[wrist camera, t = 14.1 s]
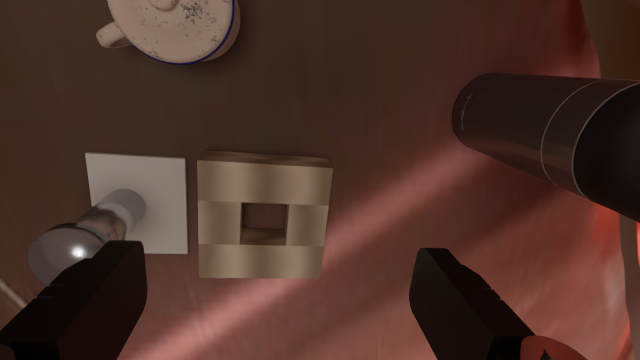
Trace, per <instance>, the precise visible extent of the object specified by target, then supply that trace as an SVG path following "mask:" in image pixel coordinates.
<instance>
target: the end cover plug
mask: <svg viewBox="0 0 640 360" xmlns="http://www.w3.org/2000/svg"><path fill="white" fill-rule="evenodd" d="M146 210H147V207H146V203H145V201H144V199H143V198H142V196H141V195H139V194H138V193H137V192H135V191H133V190H130V189H116V190H114V191H112V192H110V193H109V194H108V195H107V196H106V197H104V198H103V199H102V200H101V201H99V202H98V203H97V204H96V205H95V206H93V207H92V208H91V209H90V210H88V211H87V212H86V213H85V214H84V215H82V216H81V217H80V218H79V219H78V220H76V221H75V222H74V223H65V224H60V225H57V226H55V227H53V228H51V229H49V230H48V231H46V232H45V233H44V234H43V235H41V236H40V237H39V238H37V239H36V240H35V241H34V242H33V244H32V245H31V247H30V250H29V254H28V261H29V265H30V268H31V270H32V272H33V273H34V275H35V276H36V277H37V278H38V279H39V280H40V281H41V282H42V283H44V284H45V285H47V286H49V285H50V283H51V282H52V281H53V280H54V279H55V278H56V277H57V276H58V275H59V274H60V273H61V272H62V271H63V270H64V269H66V268H68V267H70V266H71V265H73V264H75V263H77V262H79V261H81V260H82V259H84V258H92V257H93V256H94V255H95V254H96V253H97V252H98V251H99V250H100V249H101V248H102V247H103V246H104V244H105V243H106V242H108V241H109V240H126V238H127V237H128V236H129V235H130V234H131V232H132V231H133V230H134V229H135V227H136V226H137V225H138V224H139V222H140V221H141V220H142V219H143V217H144V216H145V214H146Z"/></svg>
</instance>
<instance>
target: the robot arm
mask: <svg viewBox="0 0 640 360" xmlns="http://www.w3.org/2000/svg"><path fill="white" fill-rule="evenodd" d="M453 127H454V130H455V133H456V135H457V137H458V138H459V140H460V141H461V142H462V143H463V144H465V145H466V146H468V147H470V148H472V149H474V150H477V151H479V152H481V153H483V154H486V155H488V156H490V157H492V158H495V159H497V160H499V161H501V162H504V163H506V164H508V165H511V166H513V167H515V168H517V169H520V170H522V171H524V172H527V173H529V174H531V175H533V176H536V177H538V178H540V179H543V180H545V181H547V182H549V183H552V184H554V185H556V186H559V187H561V188H563V189H566V190H568V191H571V192H573V193H575V194H577V195H580V196H582V197H584V198H586V199H589V200H591V201H593V202H595V203H597V204H600V205H602V206H605V207H607V208H609V209H611V210H614V211H616V212H618V213H620V214H622V215H624V216H626V217H628V218H631V219H633V220H635V221H637V222H640V81H638V80H620V79H598V78H580V77H562V76H544V75H526V74H511V73H489V74H485V75H482V76H480V77H478V78H476V79H475V80H473V81H472V82H471V83H470V84H468V85H467V86H466V87H465V89H464V90H463V91H462V92H461V94H460V96H459V97H458V99H457V101H456V104H455V107H454V111H453ZM146 299H147V278H146V267H145V255H144V247H143V244H142V242H141V241H134V240H109V241H108V242H106V243H105V244H104V246H103V247H102V248H101V249H100V250H99V251H98V252H97V253H96V254H95V255H94V256H93V257H92V258H84V259H82V260H81V261H79V262H77V263H75V264H73V265H71V266H70V267H68V268H66V269H64V270H63V271H62V272H61V273H60V274H59V275H58V276H57V277H56V278H55V279H54V280H53V281H52V282H51V283H50V285H49V286H46V287H45V288H44V289H43V290H42V291H41V292H40V293H39V294H38V295H37V298H36V299H33V300H32V301H31V302H30V303H29V304H28V305H27V306H26V307H25V308H24V309H23V310H21V311H20V312H19V313H18V314H17V315H16V316H15V317H14V318H13V319H12V320H11V321H10V322H9V323H8V324H7V325H6V326H5V327H4V328H3V329H2V330H1V331H0V360H117V358H118V356H119V354H120V352H121V351H122V349H123V347H124V345H125V343H126V341H127V340H128V338H129V336H130V334H131V332H132V331H133V329H134V327H135V325H136V323H137V321H138V320H139V318H140V316H141V314H142V312H143V310H144V307H145V304H146ZM409 301H410V307H411V310H412V312H413V314H414V316H415V318H416V320H417V322H418V324H419V326H420V328H421V329H422V331H423V333H424V335H425V337H426V339H427V341H428V343H429V344H430V346H431V348H432V350H433V352H434V354H435V356H436V358H437V360H587V359H586V358H585V357H584V356H582V355H581V354H580V353H579V352H577V351H576V350H574V349H573V348H571V347H569V346H568V345H566V344H564V343H562V342H559V341H557V340H554V339H551V338H548V337H544V336H536V335H535V334H534V333H533V332H532V331H531V330H530V328H529V327H528V326H527V325H526V324H525V323H524V322H523V321H522V320H521V319H520V318H519V317H518V316H517V315H516V314H515V312H514V311H513V310H512V309H511V308H510V307H509V306H508V305H507V304H506V303H505V302H504V301H503V300H501V299H500V296H499V295H498V294H497V293H496V292H495V291H494V290H491V287H490V286H489V285H488V284H487V283H486V282H485V280H484V279H483V278H482V277H481V276H480V275H478V274H477V273H475V272H474V271H472V270H471V269H469V268H468V267H466V266H465V265H461V264H460V263H459V261H458V260H457V259H456V258H455V257H454V256H453V255H452V254H451V253H450V251H449V250H448V249H445V248H421V249H420V250H419V251H418V253H417V257H416V262H415V267H414V271H413V276H412V281H411V286H410V291H409Z"/></svg>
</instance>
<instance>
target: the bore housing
mask: <svg viewBox="0 0 640 360" xmlns="http://www.w3.org/2000/svg"><path fill="white" fill-rule="evenodd" d="M197 171H198V236H199V278H320V274H321V265H322V257H323V249H324V241H325V233H326V224H327V216H328V208H329V200H330V191H331V183H332V175H333V167H332V165H331V163H330V162H329V160H328V158H318V157H302V156H287V155H271V154H256V153H240V152H224V151H209V150H205V151H204V152H203V153H202V155H201V156H200V157H199V159H198V160H197ZM243 202H249V203H273V204H287V207H286V220H285V229H255V228H242V227H243Z"/></svg>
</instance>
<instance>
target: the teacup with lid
mask: <svg viewBox="0 0 640 360" xmlns="http://www.w3.org/2000/svg"><path fill="white" fill-rule="evenodd" d="M107 1H108V5H109V8H110V11H111V14H112V16H113V18H114V20H115V21H114V22H112V23H110V24H108V25H106V26H104V27H102V28H101V29H100V30H99V31H98V32H97V34H96V37H97V39H98V41H99V43H100V44H101V45H102V46H103V47H105V48H118V47H123V46H127V45H131V44H133V45H134V46H135V47H136V48H137V49H138V50H140V51H141V52H143V53H144V54H146V55H148V56H149V57H151V58H153V59H156V60H158V61H161V62H164V63H168V64H175V65H187V64H193V63H197V62H200V61H209V60H213V59H215V58H218V57H220V56H221V55H223V54H224V53H225V52H227V51H228V50H229V49H230V48H231V46H232V45H233V43H234V42H235V40H236V38H237V35H238V32H239V28H240V9H239V5H238V1H237V0H107Z"/></svg>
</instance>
